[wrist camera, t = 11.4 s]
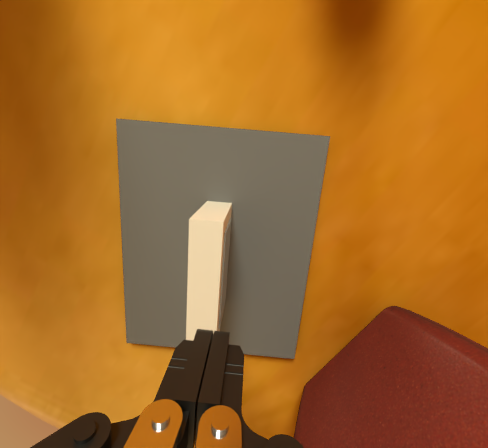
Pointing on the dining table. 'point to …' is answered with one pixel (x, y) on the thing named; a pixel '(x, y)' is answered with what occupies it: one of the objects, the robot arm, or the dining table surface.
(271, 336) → the mat
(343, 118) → the dining table surface
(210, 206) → the card box
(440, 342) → the plant pot
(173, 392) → the robot arm
